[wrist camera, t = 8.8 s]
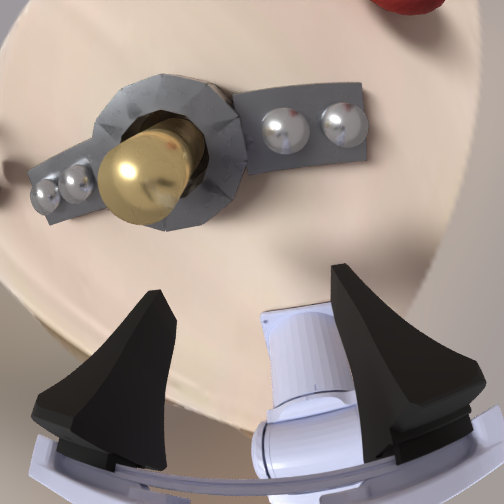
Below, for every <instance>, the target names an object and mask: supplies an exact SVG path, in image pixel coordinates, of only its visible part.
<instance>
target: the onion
mask: <svg viewBox="0 0 504 504" xmlns="http://www.w3.org/2000/svg"><path fill="white" fill-rule="evenodd" d="M371 1H372V2H374V3H376V4H377V5H379V6H380V7H382V8H383V9H385V10H387V11H391V12H394V13H398V14H401V15H420V14H426V13H429V12H431V11H433V10H434V9H436V8H438V7H440V6H441V5H442V4H443V3H444V1H445V0H371Z"/></svg>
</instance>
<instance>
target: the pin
mask: <svg viewBox="0 0 504 504" xmlns="http://www.w3.org/2000/svg"><path fill="white" fill-rule="evenodd" d="M203 154H204V139H203V136H202V134H201V132H200V131H199V129H198V128H197V127H196V126H195V125H194V124H193V123H191V122H189V121H187V120H185V119H181V118H170V119H166V120H164V121H162V122H160V123H158V124H156V125H154V126H152V127H150V128H148V129H146V130H144V131H142V132H140V133H138V134H137V135H135V136H133V137H131V138H129V139H128V140H126V141H124V142H122V143H121V144H119V145H117V146H115V147H114V148H113V149H111V150H110V151H109V152H108V153H107V154H106V156H105V157H104V159H103V160H102V162H101V165H100V167H99V171H98V188H99V192H100V195H101V198H102V200H103V201H104V203H105V205H106V206H107V207H108V209H109V210H110V211H111V212H112V213H113V214H114V215H116V216H117V217H118V218H120V219H122V220H124V221H126V222H128V223H131V224H136V225H149V224H153V223H156V222H159V221H161V220H162V219H164V218H165V217H166V216H168V215H169V214H170V212H171V211H172V210H173V208H174V207H175V205H176V203H177V201H178V200H179V198H180V196H181V194H182V192H183V190H184V189H185V187H186V185H187V183H188V182H189V180H190V178H191V176H192V175H193V173H194V171H195V169H196V168H197V166H198V164H199V163H200V161H201V159H202V157H203Z"/></svg>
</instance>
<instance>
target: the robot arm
mask: <svg viewBox="0 0 504 504" xmlns="http://www.w3.org/2000/svg"><path fill="white" fill-rule="evenodd" d="M260 320H261V324H262V328H263V333H264V337H265V341H266V345H267V349H268V353H269V357H270V361H271V377H272V395H273V409H270V410H267V420H266V421H262V422H261V423H260V424H259V425H258V427H257V429H256V430H255V432H254V434H253V438H252V460H253V465H254V469H255V471H256V474H257V475H258V477H259V478H260V479H211V478H197V477H186V476H178V475H170V474H163V473H158V472H152V471H146V470H141V469H137V468H142V469H145V468H146V469H151V470H158V471H162V470H164V469H165V468H166V467H167V462H166V454H165V443H164V404H165V390H166V384H167V378H168V374H169V369H170V364H171V359H172V355H173V350H174V345H175V339H176V327H177V320H176V318H175V316H174V314H173V312H172V311H171V309H170V307H169V305H168V303H167V301H166V299H165V297H164V295H163V293H162V291H161V289H160V290H151V291H148V292H147V293H146V294H145V295H144V296H143V298H142V299H141V300H140V301H139V302H138V304H137V305H136V306H135V307H134V308H133V310H132V311H131V312H130V313H129V315H128V316H127V317H126V318H125V319H124V321H123V322H122V323H121V324H120V326H119V327H118V328H117V329H116V330H115V331H114V332H113V334H112V335H111V336H110V337H109V338H108V339H107V340H106V342H105V343H104V344H103V345H102V346H101V347H100V348H99V349H98V350H97V351H96V352H95V353H94V354H93V355H92V356H91V357H90V358H89V359H88V360H86V361H85V362H84V363H83V364H82V365H81V366H79V367H78V368H77V369H76V370H75V371H73V372H72V373H71V374H70V375H68V376H67V377H66V378H65V379H63V380H61V381H60V382H58V383H57V384H55V385H54V386H52V387H50V388H49V389H47V390H45V391H44V392H42V393H40V394H39V395H38V397H37V400H36V403H35V405H34V408H33V412H32V414H31V418H32V419H33V421H35V422H36V423H37V424H39V425H40V426H41V427H43V428H45V429H46V430H47V431H49V432H51V433H52V434H54V435H55V436H57V437H59V442H56V441H54V440H52V439H50V438H47V437H45V436H43V435H41V434H38V437H37V440H36V444H35V448H34V452H33V456H32V460H31V464H30V470H29V476H31V477H32V478H33V479H35V480H37V481H39V482H40V483H42V484H43V485H45V486H46V487H48V488H49V489H51V490H52V491H54V492H56V493H57V494H59V495H60V496H62V497H63V498H65V499H66V500H68V501H70V502H71V503H73V504H190V501H191V500H190V499H188V498H182V497H177V496H172V495H168V494H163V493H158V492H153V491H150V489H149V487H148V486H151V487H156V488H162V489H168V490H174V491H181V492H188V493H197V494H208V495H224V496H268V497H269V501H270V503H272V504H442V503H444V502H445V501H447V500H449V499H451V498H452V497H454V496H455V495H457V494H459V493H460V492H462V491H464V490H465V489H467V488H468V487H470V486H471V485H473V484H474V483H476V482H477V481H479V480H480V479H482V478H483V477H485V476H486V475H488V474H489V473H490V472H492V471H493V470H495V469H496V468H497V467H499V466H500V465H501V464H503V463H504V418H503V415H502V412H501V410H500V407H499V405H498V404H496V405H494V406H493V407H491V408H489V409H488V410H486V411H484V412H483V413H481V414H479V415H477V416H476V417H474V418H473V419H471V420H470V417H469V413H471V407H470V405H469V404H470V403H471V402H472V400H474V399H475V398H476V397H477V396H478V395H479V393H481V392H482V390H483V389H484V388H485V386H486V380H485V378H484V375H483V373H482V371H481V369H480V367H479V365H478V363H477V362H476V361H475V360H472V359H470V358H468V357H466V356H463V355H461V354H459V353H457V352H455V351H452V350H451V349H449V348H447V347H445V346H443V345H441V344H440V343H438V342H436V341H435V340H433V339H431V338H430V337H428V336H426V335H425V334H424V333H422V332H420V331H419V330H417V329H416V328H414V327H413V326H412V325H410V324H409V323H408V322H406V321H405V320H404V319H403V318H401V317H400V316H399V315H398V314H397V313H395V312H394V311H393V310H392V309H391V308H390V307H389V306H387V305H386V304H385V303H384V302H383V301H382V300H381V299H380V298H379V297H378V296H377V295H376V294H375V293H374V292H373V291H372V290H371V289H370V288H369V287H368V286H367V285H366V284H365V283H364V282H363V281H362V280H361V279H360V278H359V277H358V276H357V275H356V274H355V273H354V271H353V270H352V269H351V268H350V267H349V266H348V265H347V264H346V263H344V264H338V265H332V266H331V302H328V303H322V304H316V305H310V306H304V307H297V308H291V309H284V310H277V311H269V312H263V313H261V314H260ZM348 362H349V363H348ZM349 365H350V367H349ZM350 369H351V371H350ZM351 372H352V375H351ZM352 377H353V379H352ZM353 382H354V383H353Z"/></svg>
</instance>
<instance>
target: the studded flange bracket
mask: <svg viewBox="0 0 504 504" xmlns="http://www.w3.org/2000/svg"><path fill="white" fill-rule="evenodd" d="M232 97H233V102H234V104H233V103H232V102H231V101H230V100H229V99H228V98H227V96H226V95H225V94H224V93H223V92H222V91H221V90H220V89H219V88H218V87H217V86H216V85H215V84H213V83H209V82H206V81H202V80H198V79H193V78H189V77H185V76H180V75H174V74H158V75H155V76H153V77H150V78H147V79H144V80H141V81H139V82H136V83H134V84H131V85H128V86H126V87H124V88H121V89H120V90H119V91H118V92H117V94H116V95H115V96H114V97H113V98H112V100H111V101H110V102H109V103H108V105H107V106H106V107H105V109H104V110H103V111H102V112H101V114H100V115H99V116H98V118H97V119H96V122H95V123H94V129H93V135H92V138H90V139H88V140H86V141H84V142H82V143H79V144H77V145H75V146H73V147H71V148H69V149H67V150H65V151H63V152H61V153H59V154H57V155H55V156H53V157H51V158H50V159H48V160H46V161H44V162H42V163H41V164H39V165H37V166H36V167H34V168H32V169H31V170H29V171H27V173H28V176H29V179H30V181H31V184H32V186H33V187H32V189H31V192H30V199H31V203H32V205H33V207H34V209H35V210H36V211H37V212H38V213H40V214H41V215H45V217H46V219H47V221H48V223H49V225H53V224H56V223H59V222H62V221H65V220H68V219H71V218H74V217H77V216H80V215H84V214H87V213H90V212H93V211H97V210H100V209H103V208H107V206H106V205H105V203H104V201H103V200H102V198H101V195H100V192H99V188H98V171H99V167H100V165H101V162H102V160H103V159H104V157H105V156H106V154H107V153H108V152H109V151H110V150H111V149H113V148H114V147H115V146H117V145H119V144H121V143H122V142H124V141H126V140H128V139H129V138H131V137H133V136H135V135H137V134H138V133H139V129H140V126H141V125H142V124H143V123H144V122H145V121H146V120H147V118H148V117H149V116H150V115H151V114H152V113H153V112H155V111H158V110H165V111H169V112H173V113H177V114H181V115H185V116H187V117H188V118H189V119H190V120H191V121H192V122H193V123H194V124H195V125H196V126H197V127H198V128H199V129H200V131H201V132H202V133H203V134H204V136H205V141H206V145H207V149H208V153H209V157H210V160H209V163H208V166H207V169H206V170H205V171H204V172H203V173H202V174H200V175H199V176H198V177H197V178H196V179H195V180H192V181H189V182H188V183H187V185H186V187H185V189H184V190H183V192H182V194H181V196H180V198H179V200H178V201H177V203H176V205H175V207H174V208H173V210H172V211H171V212H170V214H169V215H168V216H166V217H165V218H164V219H162V220H161V221H159V222H156V223H153V224H149V225H144V226H147V227H151V228H154V229H157V230H161V231H164V232H165V230H166V232H167V231H173V230H178V229H183V228H189V227H194V226H200V225H202V224H204V223H206V222H207V221H208V220H209V219H211V218H212V217H213V216H214V215H215V214H217V213H218V212H219V211H220V210H222V209H223V208H224V207H225V206H227V205H228V204H229V203H230V202H231V201H232V200H233V199H234V197H235V194H236V191H237V188H238V186H239V183H240V180H241V178H242V175H243V172H244V170H245V167H246V166H247V171H248V175H253V174H259V173H265V172H271V171H278V170H285V169H292V168H299V167H307V166H315V165H324V164H333V163H343V162H354V161H366V160H367V147H366V136H367V133H368V129H369V124H368V119H367V117H366V115H365V113H364V102H363V92H362V84H361V83H359V82H334V83H315V84H302V85H291V86H282V87H274V88H267V89H260V90H253V91H247V92H242V93H236V94H233V95H232Z"/></svg>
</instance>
